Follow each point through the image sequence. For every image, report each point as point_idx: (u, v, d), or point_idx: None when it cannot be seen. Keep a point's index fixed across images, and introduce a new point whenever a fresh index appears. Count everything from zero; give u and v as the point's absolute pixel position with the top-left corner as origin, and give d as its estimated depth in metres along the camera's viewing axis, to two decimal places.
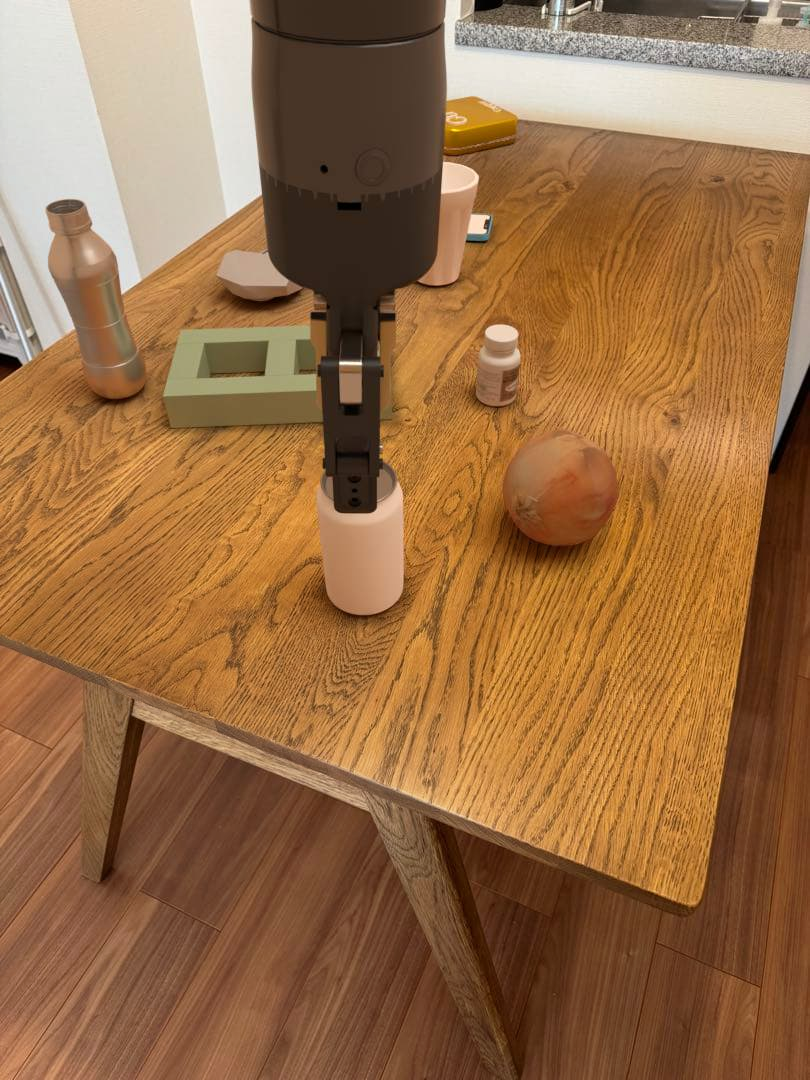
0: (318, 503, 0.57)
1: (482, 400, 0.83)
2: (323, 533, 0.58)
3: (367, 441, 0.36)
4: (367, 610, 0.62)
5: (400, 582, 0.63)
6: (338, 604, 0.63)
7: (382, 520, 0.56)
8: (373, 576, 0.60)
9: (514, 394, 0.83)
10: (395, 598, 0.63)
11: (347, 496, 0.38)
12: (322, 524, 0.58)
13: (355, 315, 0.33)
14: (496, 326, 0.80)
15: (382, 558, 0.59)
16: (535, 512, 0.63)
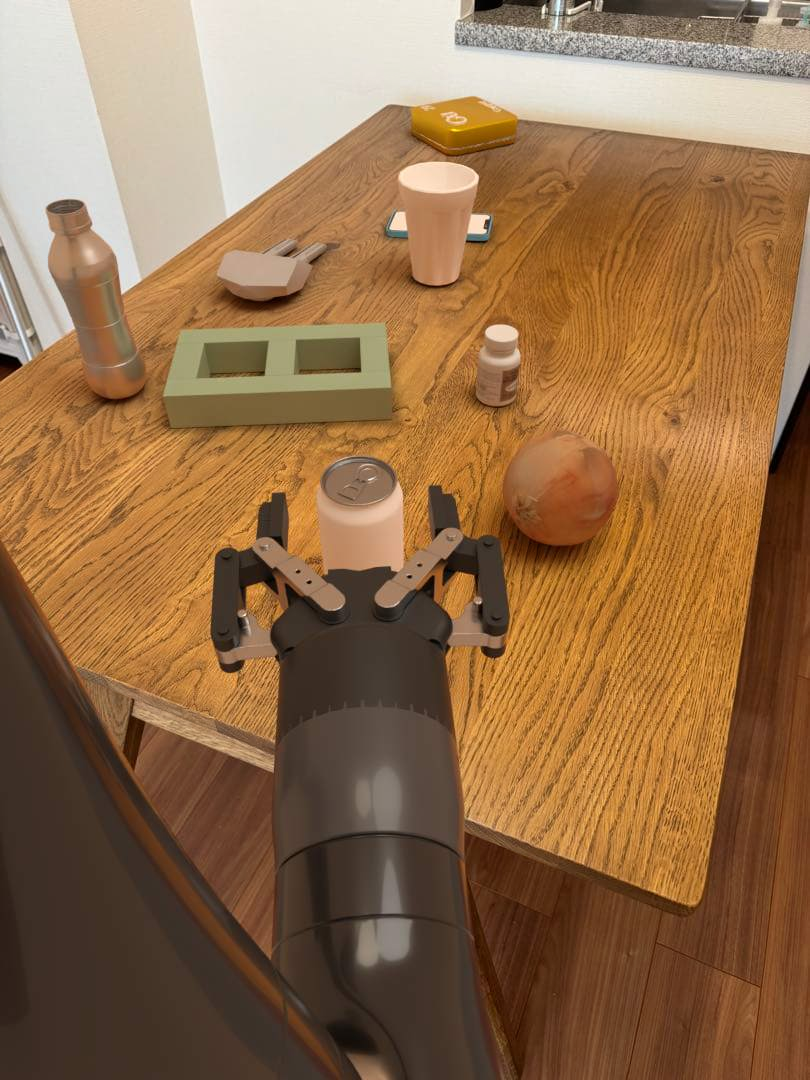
0: (318, 503, 0.57)
1: (482, 400, 0.83)
2: (323, 533, 0.58)
3: (260, 581, 0.40)
4: None
5: None
6: None
7: (382, 520, 0.56)
8: None
9: (514, 394, 0.83)
10: None
11: None
12: (322, 524, 0.58)
13: None
14: (496, 326, 0.80)
15: (382, 558, 0.59)
16: (535, 512, 0.63)
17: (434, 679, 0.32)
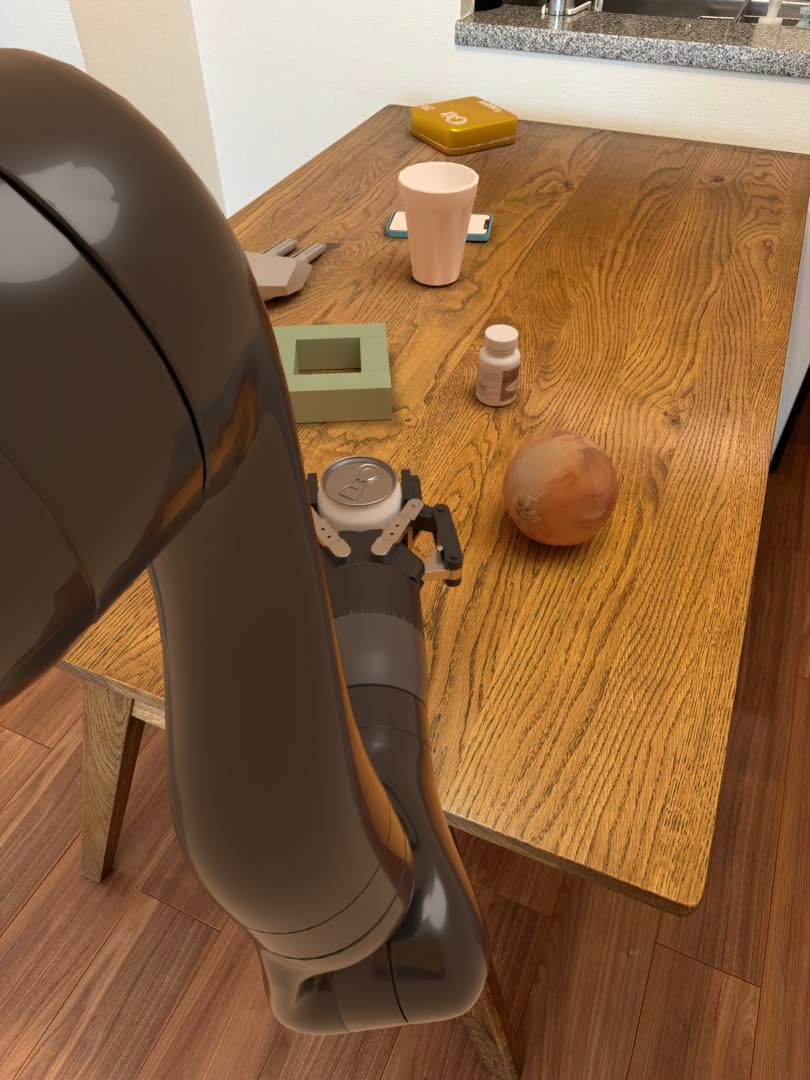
0: (318, 503, 0.57)
1: (482, 400, 0.83)
2: None
3: None
4: None
5: None
6: None
7: (382, 520, 0.56)
8: None
9: (514, 394, 0.83)
10: None
11: None
12: None
13: None
14: (496, 326, 0.80)
15: None
16: (535, 512, 0.63)
17: (410, 599, 0.48)
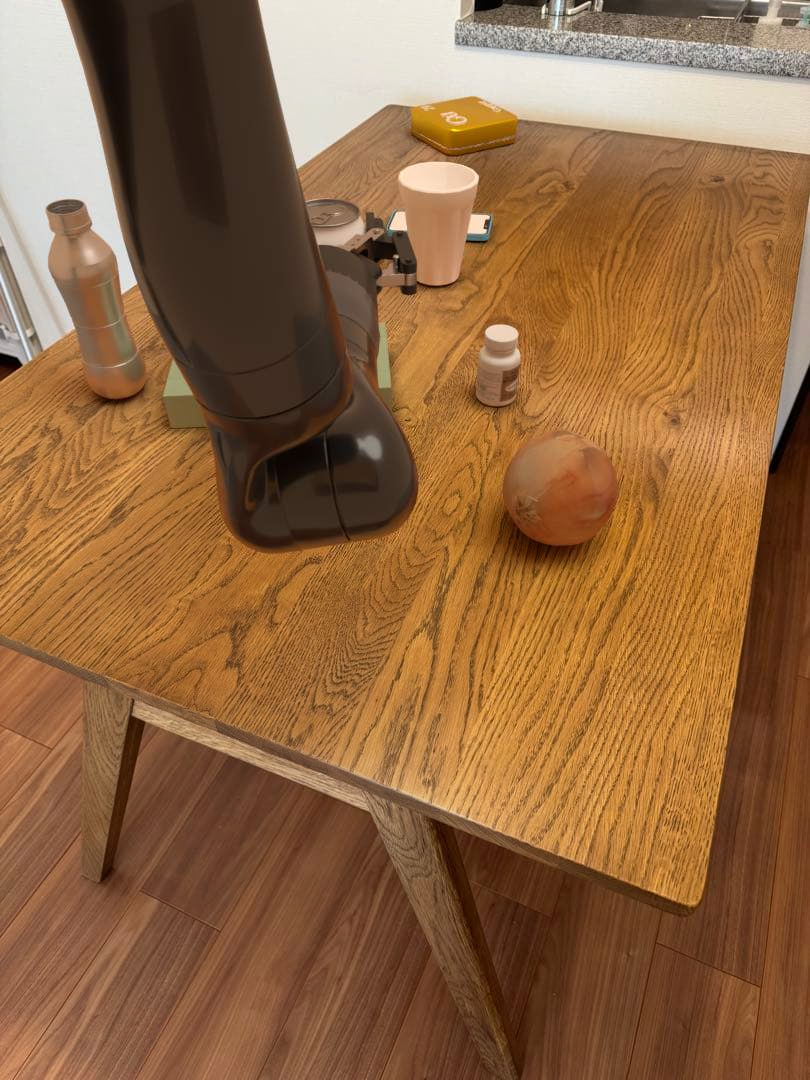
0: None
1: (482, 400, 0.83)
2: None
3: None
4: None
5: None
6: None
7: None
8: None
9: (514, 394, 0.83)
10: None
11: None
12: None
13: None
14: (496, 326, 0.80)
15: None
16: (535, 512, 0.63)
17: (365, 276, 0.53)
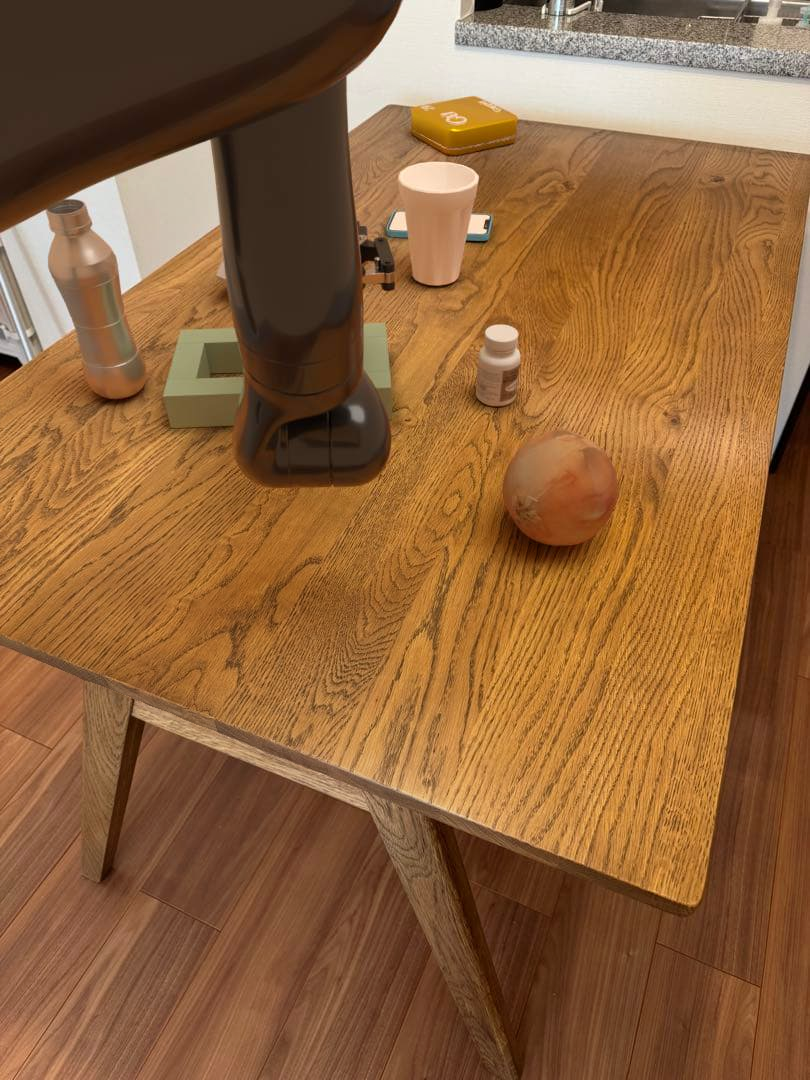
0: None
1: (482, 400, 0.83)
2: None
3: None
4: None
5: None
6: None
7: None
8: None
9: (514, 394, 0.83)
10: None
11: None
12: None
13: None
14: (496, 326, 0.80)
15: None
16: (535, 512, 0.63)
17: None
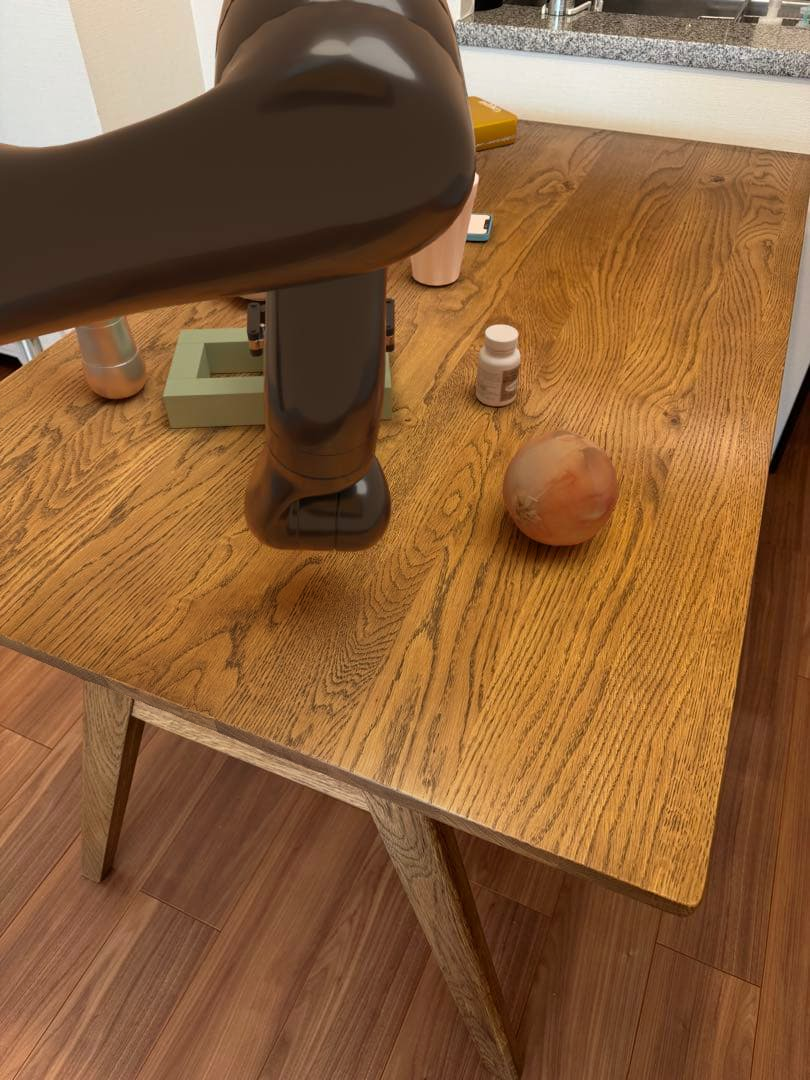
0: None
1: (482, 400, 0.83)
2: None
3: None
4: None
5: None
6: None
7: None
8: None
9: (514, 394, 0.83)
10: None
11: None
12: None
13: None
14: (496, 326, 0.80)
15: None
16: (535, 512, 0.63)
17: None
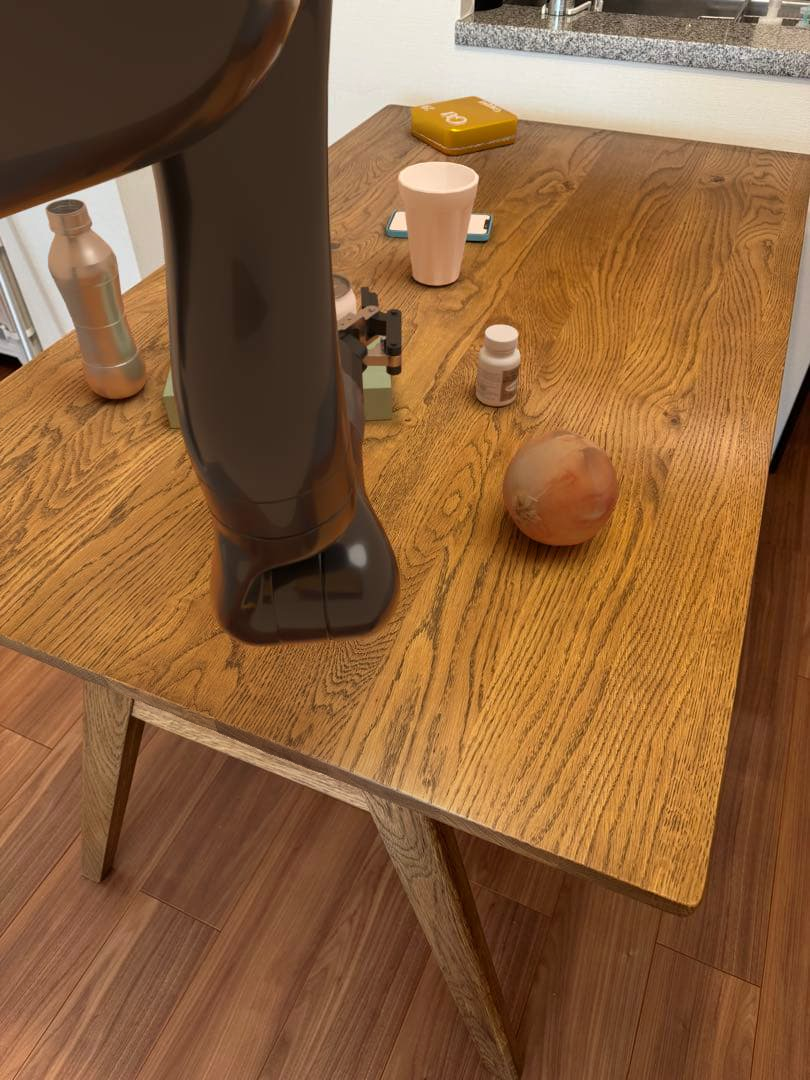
0: None
1: (482, 400, 0.83)
2: None
3: None
4: None
5: None
6: None
7: (339, 313, 0.77)
8: None
9: (514, 394, 0.83)
10: None
11: None
12: None
13: None
14: (496, 326, 0.80)
15: None
16: (535, 512, 0.63)
17: (351, 361, 0.56)
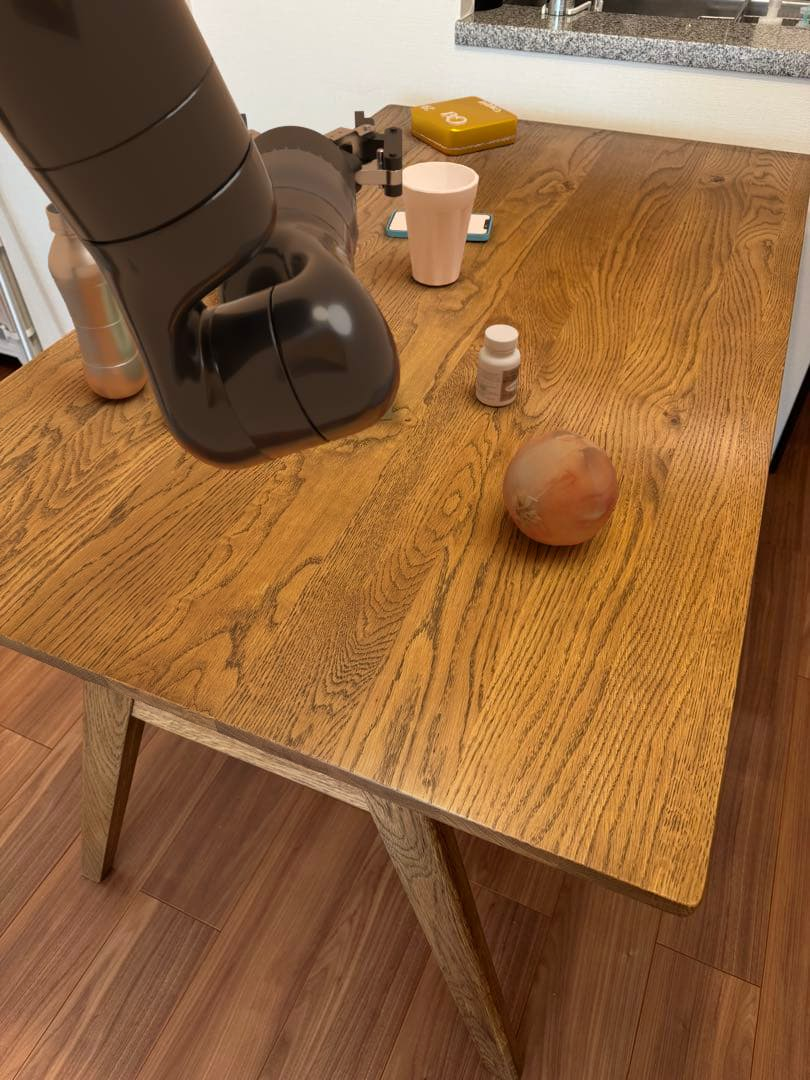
0: None
1: (482, 400, 0.83)
2: None
3: None
4: None
5: None
6: None
7: None
8: None
9: (514, 394, 0.83)
10: None
11: None
12: None
13: None
14: (496, 326, 0.80)
15: None
16: (535, 512, 0.63)
17: (341, 161, 0.46)
